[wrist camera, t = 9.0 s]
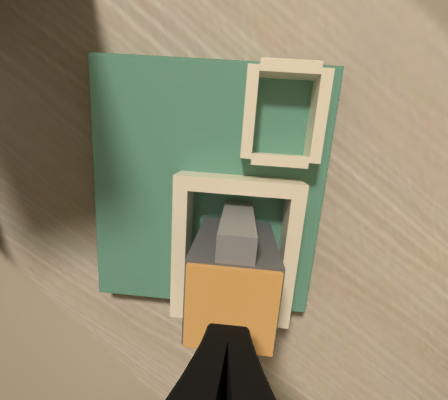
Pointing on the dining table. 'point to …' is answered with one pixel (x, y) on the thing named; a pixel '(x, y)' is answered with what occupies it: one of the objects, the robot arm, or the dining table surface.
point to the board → (206, 162)
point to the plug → (233, 278)
